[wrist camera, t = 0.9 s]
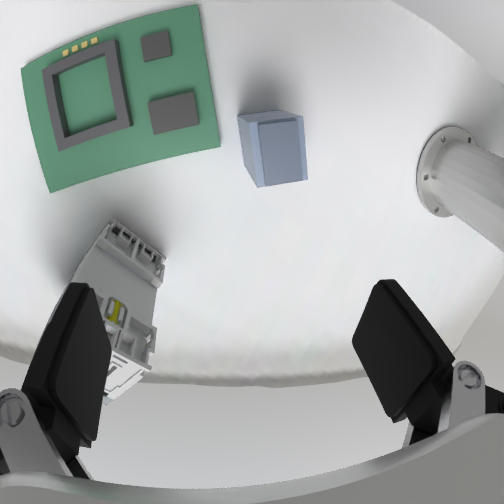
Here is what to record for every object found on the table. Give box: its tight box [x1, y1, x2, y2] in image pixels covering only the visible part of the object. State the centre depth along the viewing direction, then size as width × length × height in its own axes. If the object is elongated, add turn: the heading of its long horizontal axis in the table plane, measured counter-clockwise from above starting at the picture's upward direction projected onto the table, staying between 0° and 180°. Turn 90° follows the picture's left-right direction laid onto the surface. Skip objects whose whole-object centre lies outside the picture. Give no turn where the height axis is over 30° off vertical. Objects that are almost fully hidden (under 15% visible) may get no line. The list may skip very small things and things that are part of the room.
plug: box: [237, 110, 308, 188], centre depth 23 cm, size 4×5×8 cm
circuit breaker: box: [34, 217, 166, 405], centre depth 25 cm, size 8×14×15 cm, turn 133°
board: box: [21, 5, 221, 193], centre depth 21 cm, size 18×14×3 cm
